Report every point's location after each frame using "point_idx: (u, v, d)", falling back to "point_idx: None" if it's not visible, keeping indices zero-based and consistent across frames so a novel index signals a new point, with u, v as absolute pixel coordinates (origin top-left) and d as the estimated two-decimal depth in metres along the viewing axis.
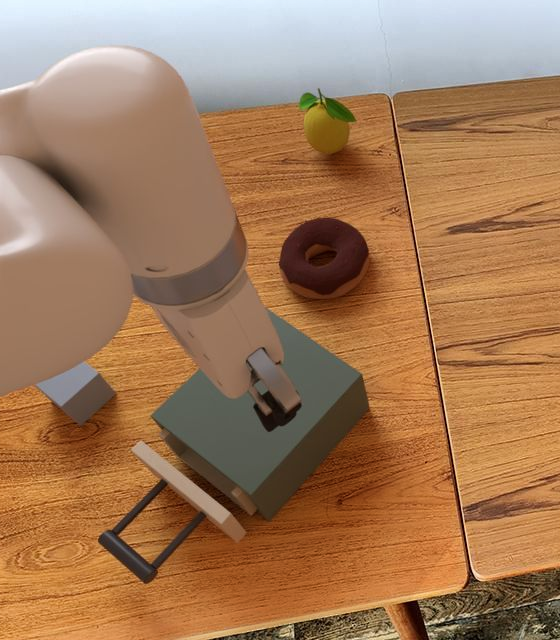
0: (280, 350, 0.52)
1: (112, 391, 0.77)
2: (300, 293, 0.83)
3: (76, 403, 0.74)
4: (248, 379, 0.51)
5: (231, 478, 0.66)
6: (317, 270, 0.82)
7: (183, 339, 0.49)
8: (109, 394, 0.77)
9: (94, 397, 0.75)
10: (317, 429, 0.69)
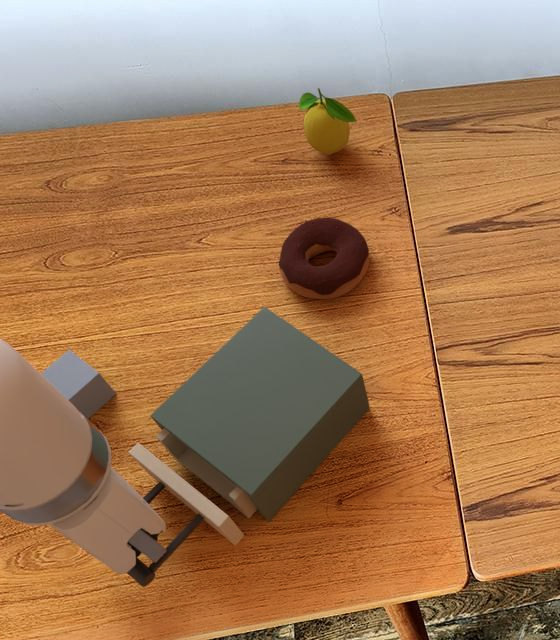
0: (159, 523, 0.57)
1: (112, 391, 0.77)
2: (300, 293, 0.83)
3: (76, 403, 0.74)
4: None
5: (231, 478, 0.66)
6: (317, 270, 0.82)
7: None
8: (109, 394, 0.77)
9: (94, 397, 0.75)
10: (317, 429, 0.69)
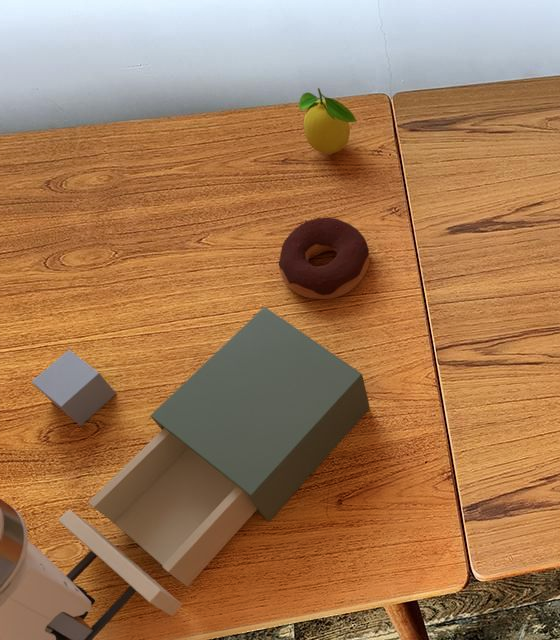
0: (83, 604, 0.54)
1: (112, 391, 0.77)
2: (300, 293, 0.83)
3: (76, 403, 0.74)
4: None
5: (231, 478, 0.66)
6: (317, 270, 0.82)
7: None
8: (109, 394, 0.77)
9: (94, 397, 0.75)
10: (317, 429, 0.69)
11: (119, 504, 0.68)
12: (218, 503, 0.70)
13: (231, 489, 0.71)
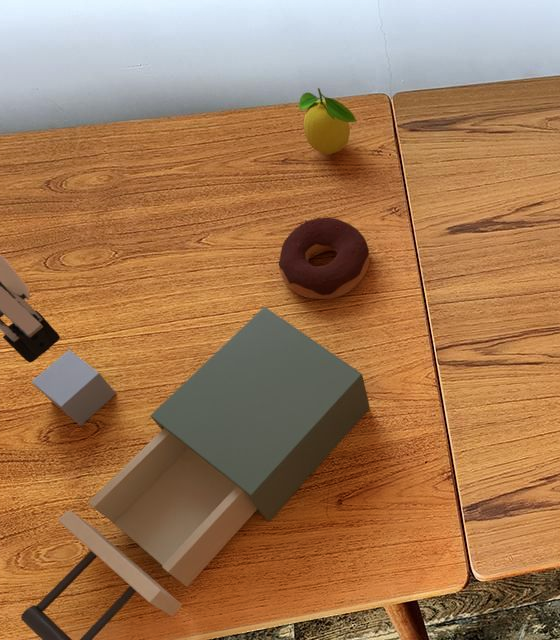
0: (20, 283, 0.57)
1: (112, 391, 0.77)
2: (300, 293, 0.83)
3: (76, 403, 0.74)
4: None
5: (231, 478, 0.66)
6: (317, 270, 0.82)
7: None
8: (109, 394, 0.77)
9: (94, 397, 0.75)
10: (317, 429, 0.69)
11: (119, 504, 0.68)
12: (218, 503, 0.70)
13: (231, 489, 0.71)
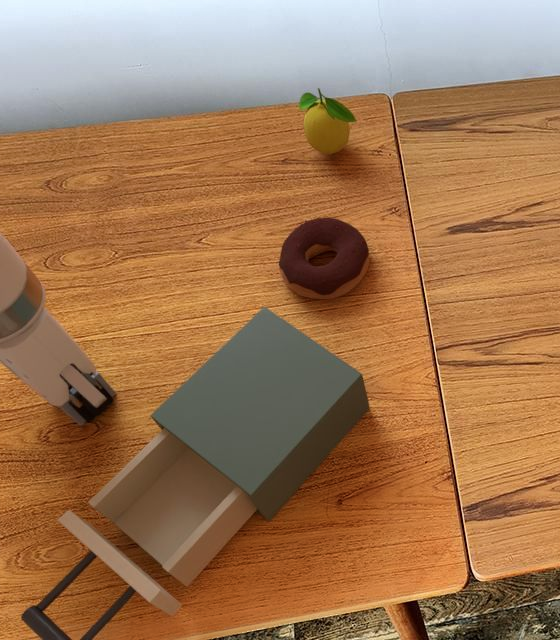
0: (89, 364, 0.68)
1: (112, 391, 0.77)
2: (300, 293, 0.83)
3: None
4: None
5: (231, 478, 0.66)
6: (317, 270, 0.82)
7: (8, 366, 0.65)
8: None
9: None
10: (317, 429, 0.69)
11: (119, 504, 0.68)
12: (218, 503, 0.70)
13: (231, 489, 0.71)
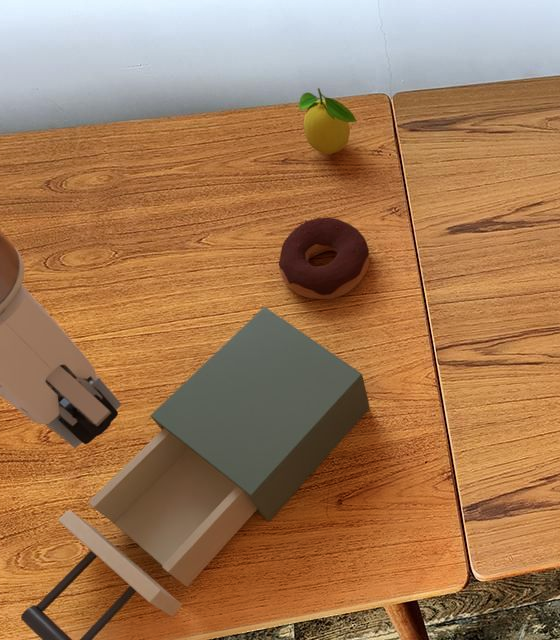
0: (87, 365, 0.50)
1: (116, 401, 0.58)
2: (300, 293, 0.83)
3: None
4: None
5: (231, 478, 0.66)
6: (317, 270, 0.82)
7: None
8: (112, 405, 0.58)
9: None
10: (317, 429, 0.69)
11: (119, 504, 0.68)
12: (218, 503, 0.70)
13: (231, 489, 0.71)
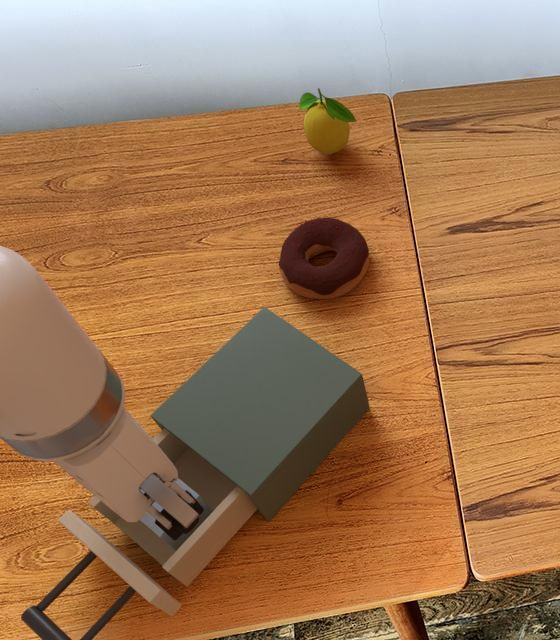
0: (172, 469, 0.55)
1: (209, 510, 0.69)
2: (300, 293, 0.83)
3: None
4: (145, 503, 0.54)
5: (231, 478, 0.66)
6: (317, 270, 0.82)
7: None
8: (206, 513, 0.69)
9: None
10: (317, 429, 0.69)
11: None
12: (218, 503, 0.70)
13: (231, 489, 0.71)
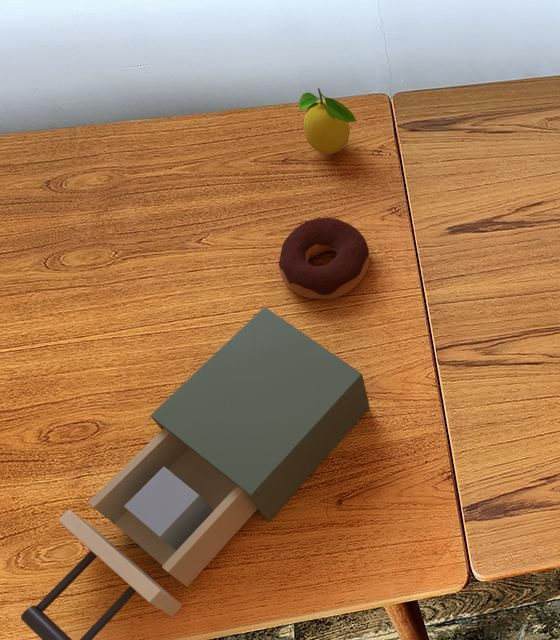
0: None
1: (209, 510, 0.69)
2: (300, 293, 0.83)
3: (175, 530, 0.65)
4: None
5: (231, 478, 0.66)
6: (317, 270, 0.82)
7: None
8: (206, 513, 0.69)
9: (191, 520, 0.67)
10: (317, 429, 0.69)
11: (119, 504, 0.68)
12: (218, 503, 0.70)
13: (231, 489, 0.71)
